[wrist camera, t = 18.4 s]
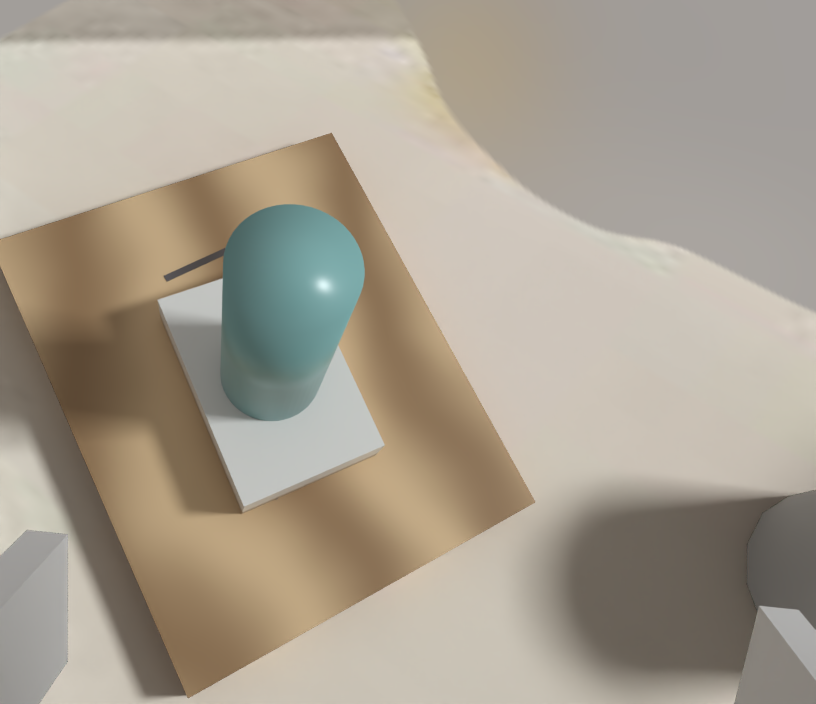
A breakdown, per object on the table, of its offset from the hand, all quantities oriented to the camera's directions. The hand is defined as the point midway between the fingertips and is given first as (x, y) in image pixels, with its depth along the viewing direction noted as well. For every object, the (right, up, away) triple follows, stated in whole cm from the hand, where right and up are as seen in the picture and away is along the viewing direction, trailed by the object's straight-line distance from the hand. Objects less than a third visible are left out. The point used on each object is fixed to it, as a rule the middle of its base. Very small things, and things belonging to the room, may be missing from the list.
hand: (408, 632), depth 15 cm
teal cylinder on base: (-6, +4, +18) cm, 20 cm away
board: (-6, +4, +20) cm, 21 cm away
